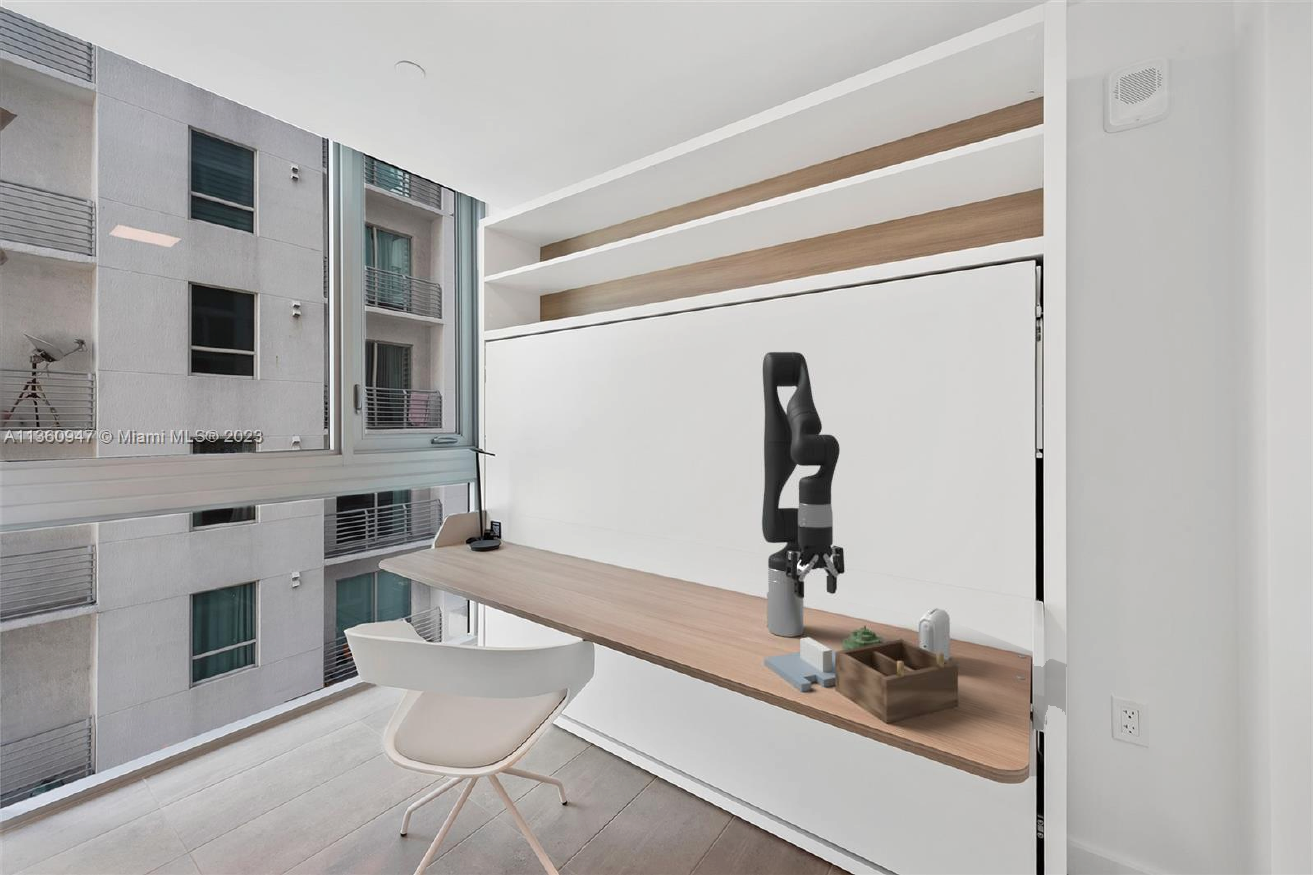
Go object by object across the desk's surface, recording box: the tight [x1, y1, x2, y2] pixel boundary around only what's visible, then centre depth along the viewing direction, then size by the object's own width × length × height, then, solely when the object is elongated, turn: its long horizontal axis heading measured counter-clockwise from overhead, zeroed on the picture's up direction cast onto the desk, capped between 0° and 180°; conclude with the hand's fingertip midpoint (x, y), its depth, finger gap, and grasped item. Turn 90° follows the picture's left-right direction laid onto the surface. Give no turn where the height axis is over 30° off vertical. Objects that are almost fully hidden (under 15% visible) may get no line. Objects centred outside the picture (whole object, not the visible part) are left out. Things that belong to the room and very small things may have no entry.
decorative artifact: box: [842, 625, 884, 650], centre depth 129 cm, size 10×7×10 cm
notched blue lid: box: [764, 636, 837, 693], centre depth 120 cm, size 14×18×6 cm
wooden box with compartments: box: [834, 638, 959, 725], centre depth 108 cm, size 14×18×10 cm
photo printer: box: [918, 607, 951, 661], centre depth 124 cm, size 10×4×12 cm, turn 133°
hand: (815, 595), depth 120 cm, fingers open, 8 cm apart
